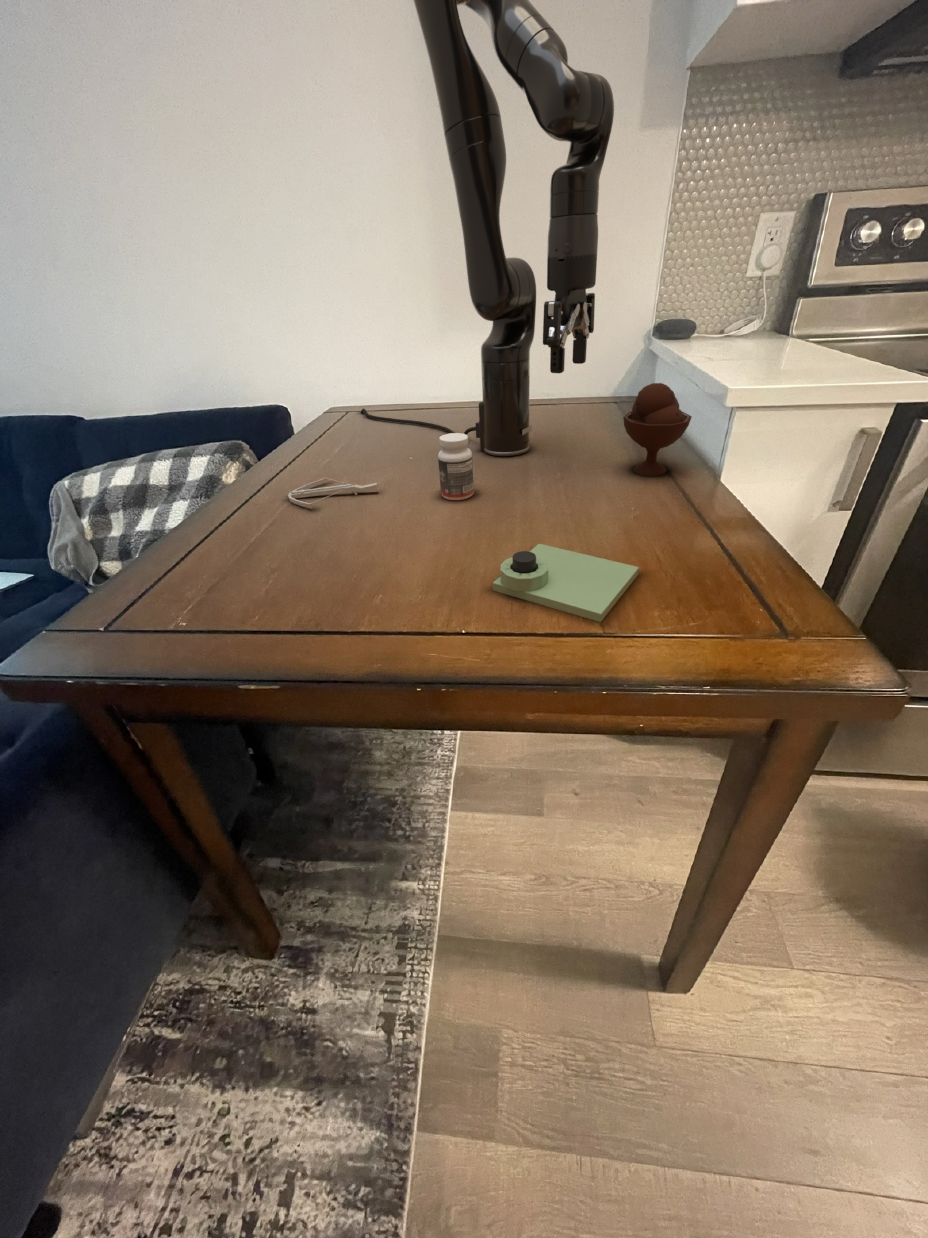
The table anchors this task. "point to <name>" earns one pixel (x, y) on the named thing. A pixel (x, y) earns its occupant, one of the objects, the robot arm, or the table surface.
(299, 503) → the crossbow
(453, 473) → the pill bottle
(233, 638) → the table surface
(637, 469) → the ice cream bowl
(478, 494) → the table surface
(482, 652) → the table surface
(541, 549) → the scale
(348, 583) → the table surface
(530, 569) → the button
